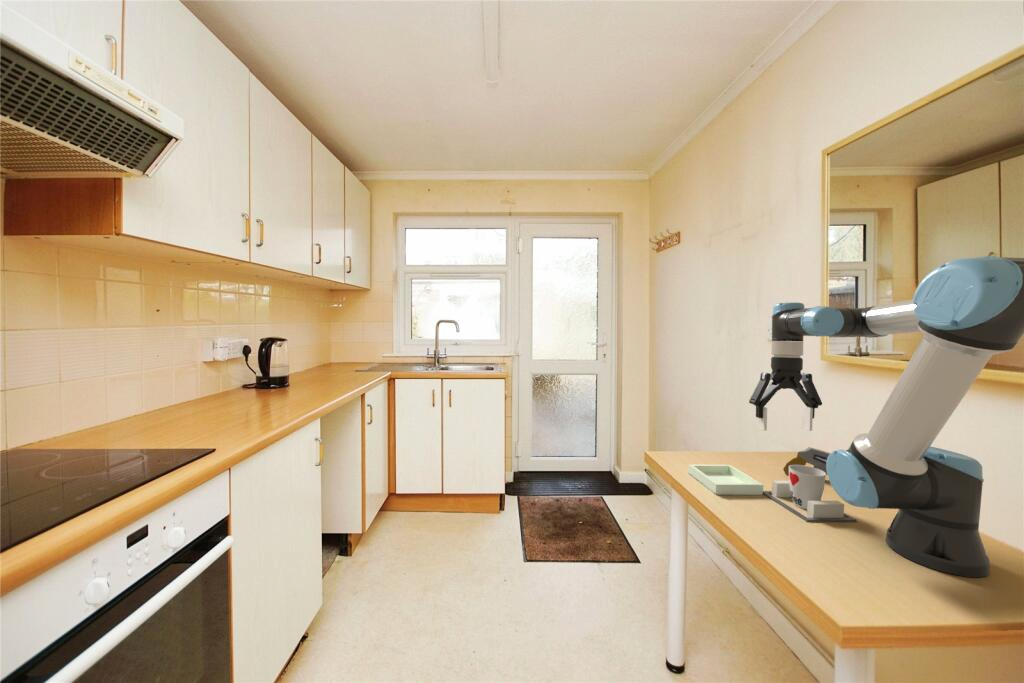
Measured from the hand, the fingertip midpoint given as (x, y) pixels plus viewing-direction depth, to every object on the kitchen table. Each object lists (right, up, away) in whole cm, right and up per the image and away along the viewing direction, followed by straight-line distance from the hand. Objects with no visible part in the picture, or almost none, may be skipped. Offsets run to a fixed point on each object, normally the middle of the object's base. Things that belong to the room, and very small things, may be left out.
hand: (784, 429), depth 113 cm
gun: (+24, -20, +12) cm, 33 cm away
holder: (+1, -19, -6) cm, 20 cm away
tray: (-14, -19, +8) cm, 24 cm away
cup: (+1, -20, -6) cm, 21 cm away
